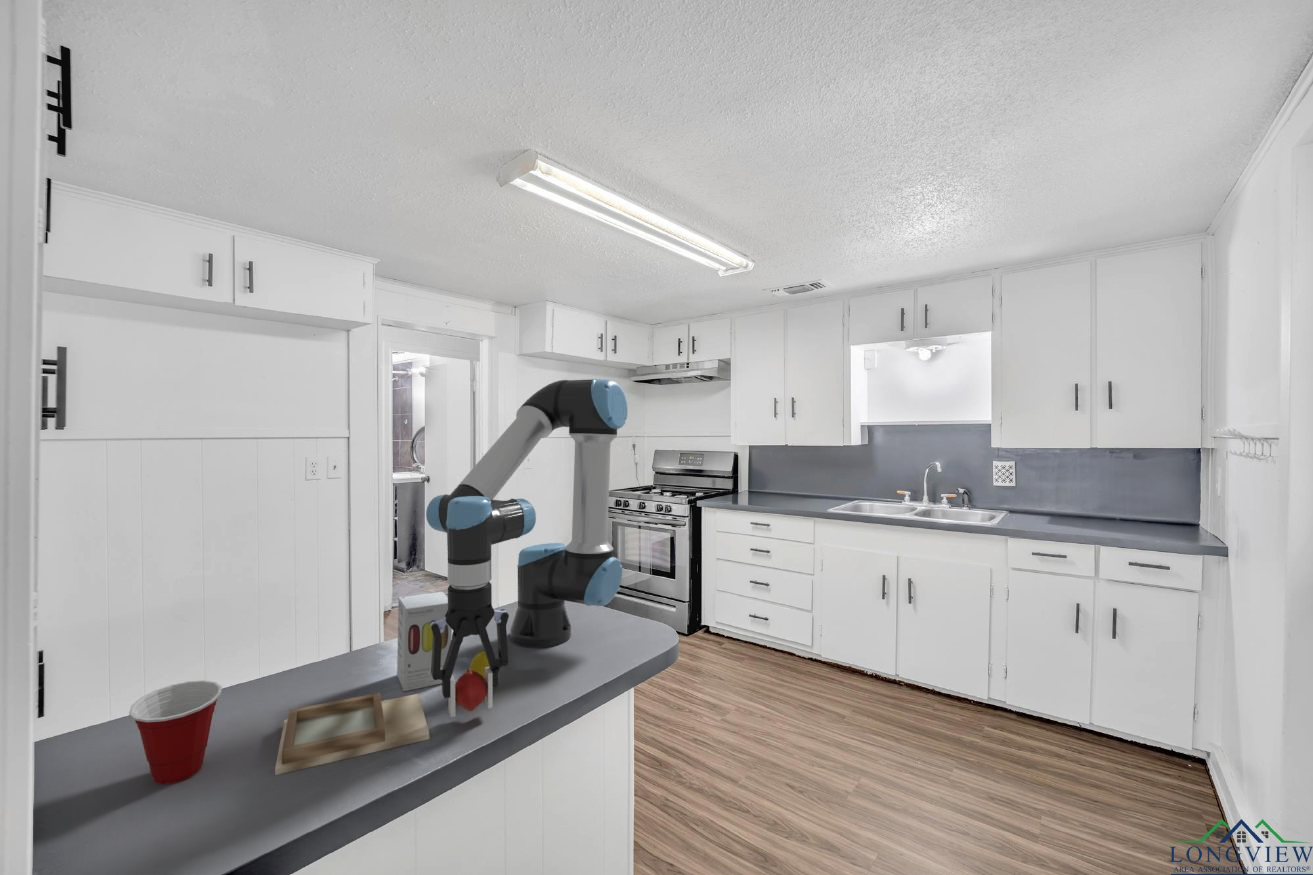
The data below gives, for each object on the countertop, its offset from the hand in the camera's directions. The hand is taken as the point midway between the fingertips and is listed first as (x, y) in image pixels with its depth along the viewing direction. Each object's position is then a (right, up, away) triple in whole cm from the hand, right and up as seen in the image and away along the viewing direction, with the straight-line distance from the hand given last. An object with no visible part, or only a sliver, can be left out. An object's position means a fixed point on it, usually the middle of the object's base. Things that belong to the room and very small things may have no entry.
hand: (470, 708), depth 104 cm
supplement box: (-15, -2, +16) cm, 22 cm away
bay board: (-18, -2, -5) cm, 19 cm away
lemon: (-1, -2, +12) cm, 12 cm away
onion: (0, -1, 0) cm, 1 cm away
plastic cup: (-39, -2, -17) cm, 43 cm away
